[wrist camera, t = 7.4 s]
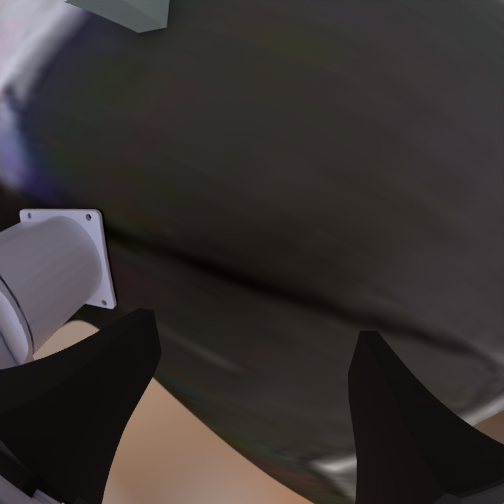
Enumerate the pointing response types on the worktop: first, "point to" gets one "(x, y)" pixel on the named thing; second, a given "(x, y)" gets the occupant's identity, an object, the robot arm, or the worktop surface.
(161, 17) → the teal plate
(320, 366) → the worktop surface
